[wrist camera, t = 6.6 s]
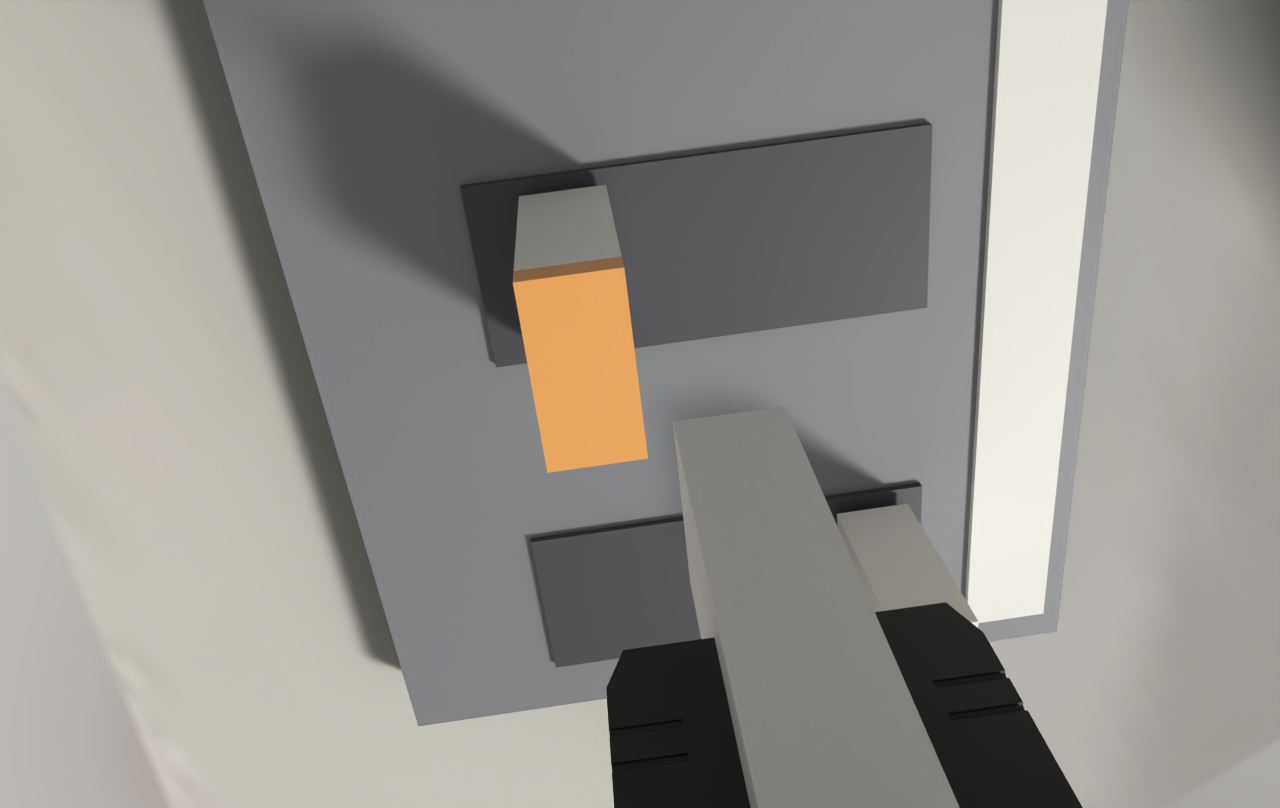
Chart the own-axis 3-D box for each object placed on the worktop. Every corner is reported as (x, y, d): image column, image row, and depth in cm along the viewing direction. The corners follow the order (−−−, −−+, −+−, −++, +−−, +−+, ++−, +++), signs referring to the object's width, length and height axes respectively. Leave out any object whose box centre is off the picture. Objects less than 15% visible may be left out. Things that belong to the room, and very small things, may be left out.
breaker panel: (115, -411, 19) (66, -446, 17) (1134, -528, 19) (1200, -576, 17) (425, 680, 32) (417, 731, 30) (1028, 591, 32) (1059, 635, 31)
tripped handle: (518, 196, 22) (513, 282, 17) (605, 184, 22) (624, 267, 18) (545, 354, 24) (547, 472, 19) (626, 343, 24) (648, 458, 19)
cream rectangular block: (836, 513, 27) (894, 633, 23) (907, 503, 27) (978, 621, 23) (839, 625, 29) (892, 756, 25) (905, 615, 29) (970, 744, 25)
